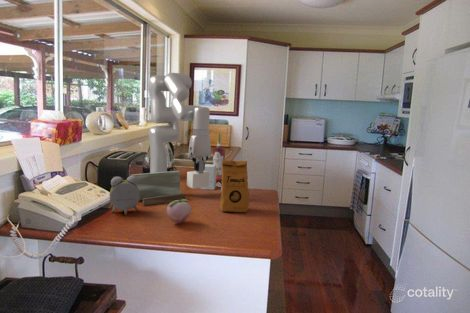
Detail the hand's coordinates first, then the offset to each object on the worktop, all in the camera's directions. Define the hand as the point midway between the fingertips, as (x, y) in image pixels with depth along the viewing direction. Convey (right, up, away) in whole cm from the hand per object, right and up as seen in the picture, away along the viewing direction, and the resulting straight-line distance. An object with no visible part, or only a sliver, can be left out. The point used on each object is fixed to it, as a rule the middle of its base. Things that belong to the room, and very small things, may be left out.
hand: (199, 170), depth 168 cm
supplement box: (+3, -11, +20) cm, 23 cm away
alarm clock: (-27, -17, -27) cm, 42 cm away
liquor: (+7, -8, +37) cm, 39 cm away
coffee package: (+17, -17, -19) cm, 30 cm away
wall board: (-18, -14, -7) cm, 23 cm away
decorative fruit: (-4, -19, -37) cm, 42 cm away
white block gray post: (-1, -8, +2) cm, 8 cm away
